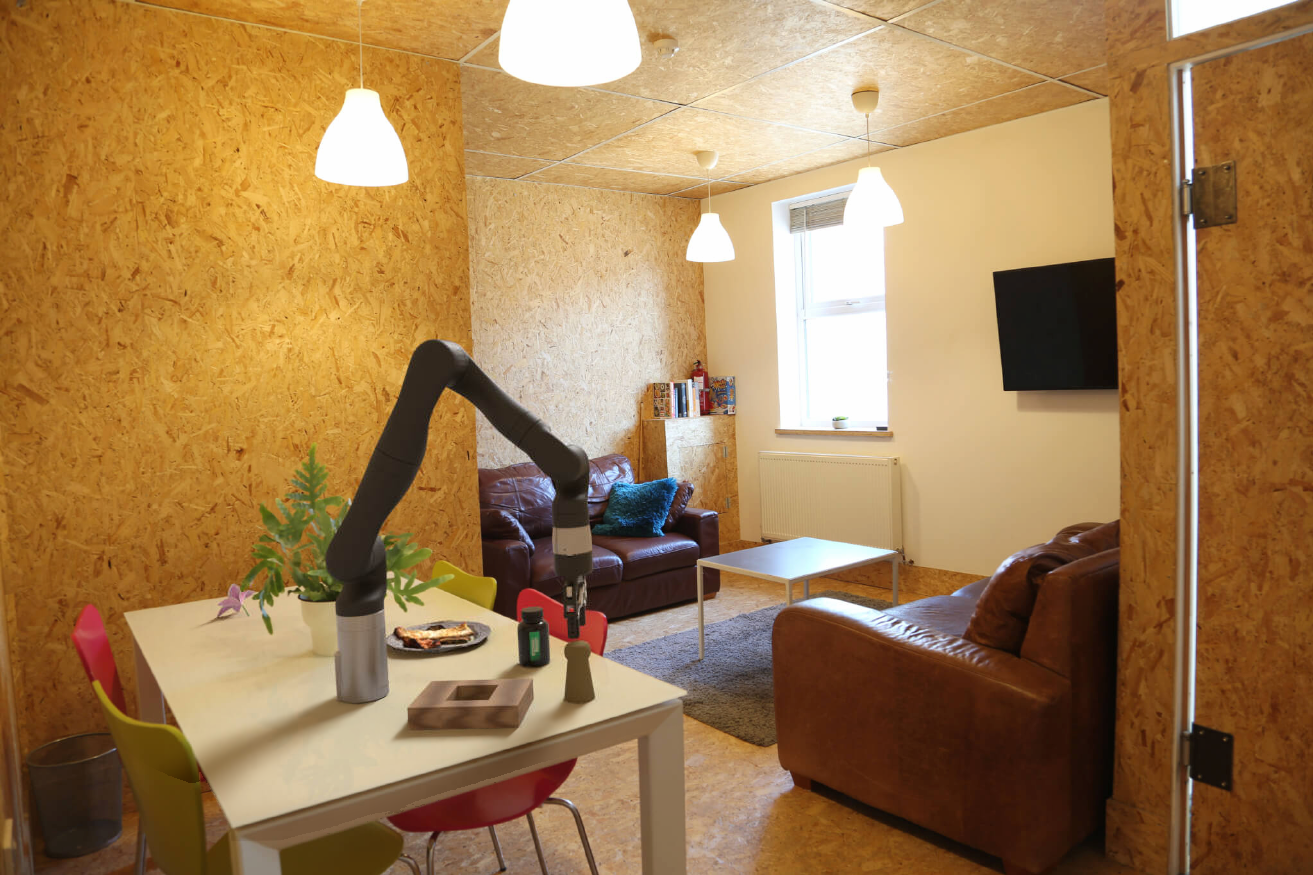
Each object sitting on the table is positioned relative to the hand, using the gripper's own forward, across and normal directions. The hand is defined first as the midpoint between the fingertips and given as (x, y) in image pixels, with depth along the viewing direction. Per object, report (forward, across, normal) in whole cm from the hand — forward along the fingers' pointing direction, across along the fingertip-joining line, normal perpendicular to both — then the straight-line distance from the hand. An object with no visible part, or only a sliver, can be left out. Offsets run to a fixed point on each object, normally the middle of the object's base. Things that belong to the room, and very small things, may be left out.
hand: (577, 631), depth 165 cm
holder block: (+13, +7, -19) cm, 24 cm away
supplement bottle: (+13, -22, -13) cm, 29 cm away
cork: (+13, 0, 0) cm, 13 cm away
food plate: (+13, -40, -40) cm, 58 cm away
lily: (+12, -71, -107) cm, 129 cm away
